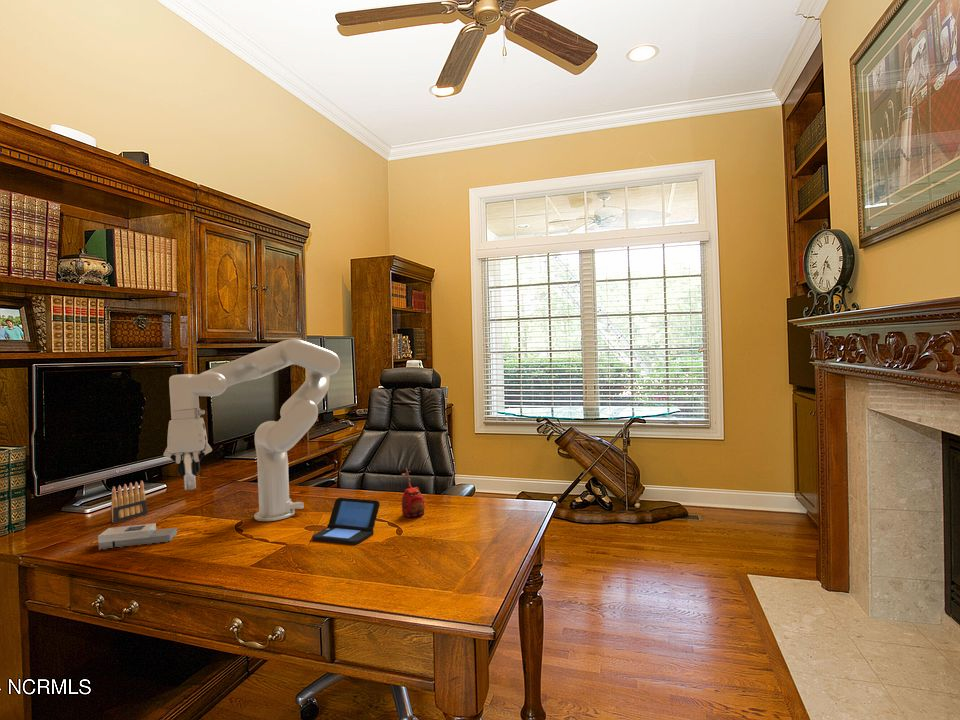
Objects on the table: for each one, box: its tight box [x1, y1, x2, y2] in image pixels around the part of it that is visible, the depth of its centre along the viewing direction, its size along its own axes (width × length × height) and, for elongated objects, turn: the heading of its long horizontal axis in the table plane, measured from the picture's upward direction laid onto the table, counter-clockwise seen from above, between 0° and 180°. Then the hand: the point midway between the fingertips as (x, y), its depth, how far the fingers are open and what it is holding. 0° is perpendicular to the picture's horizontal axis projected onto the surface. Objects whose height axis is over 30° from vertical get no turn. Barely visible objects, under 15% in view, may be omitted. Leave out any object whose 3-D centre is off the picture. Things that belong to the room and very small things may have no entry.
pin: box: [182, 452, 197, 491], centre depth 159 cm, size 4×4×13 cm
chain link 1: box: [97, 522, 157, 551], centre depth 153 cm, size 12×7×4 cm, turn 105°
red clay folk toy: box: [401, 467, 426, 519], centre depth 171 cm, size 8×7×15 cm
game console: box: [311, 497, 380, 545], centre depth 154 cm, size 16×14×9 cm
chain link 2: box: [114, 527, 178, 548], centre depth 154 cm, size 14×7×2 cm, turn 105°
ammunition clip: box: [110, 480, 148, 524], centre depth 177 cm, size 11×2×12 cm, turn 151°
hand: (189, 474), depth 159 cm, fingers closed on pin, 3 cm apart
